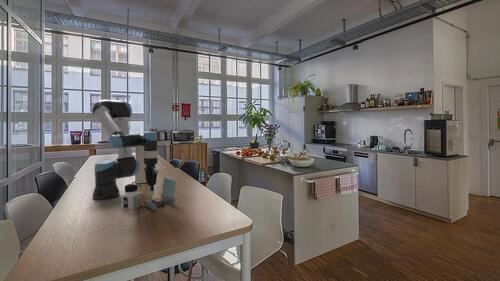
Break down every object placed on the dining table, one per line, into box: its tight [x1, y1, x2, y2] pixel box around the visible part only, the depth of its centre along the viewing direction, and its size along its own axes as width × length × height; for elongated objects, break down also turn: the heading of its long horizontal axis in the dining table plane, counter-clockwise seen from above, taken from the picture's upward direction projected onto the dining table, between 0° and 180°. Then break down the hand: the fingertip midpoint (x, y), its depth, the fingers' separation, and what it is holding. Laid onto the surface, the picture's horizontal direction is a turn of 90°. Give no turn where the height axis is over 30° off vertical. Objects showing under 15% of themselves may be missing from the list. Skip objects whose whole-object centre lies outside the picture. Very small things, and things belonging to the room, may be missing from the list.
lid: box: [161, 177, 177, 199], centre depth 146 cm, size 12×11×1 cm
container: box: [120, 183, 143, 210], centre depth 139 cm, size 8×8×13 cm
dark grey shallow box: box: [143, 193, 176, 212], centre depth 141 cm, size 14×12×5 cm
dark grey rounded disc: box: [150, 198, 165, 208], centre depth 142 cm, size 7×7×3 cm
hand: (151, 195), depth 148 cm, fingers closed
